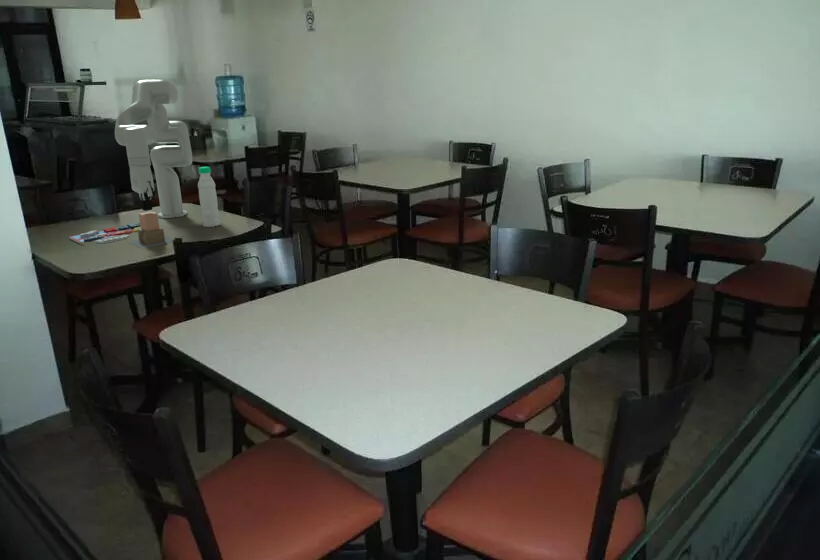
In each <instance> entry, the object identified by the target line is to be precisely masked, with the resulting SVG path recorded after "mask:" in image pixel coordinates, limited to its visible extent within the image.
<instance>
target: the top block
mask: <svg viewBox="0 0 820 560" xmlns="http://www.w3.org/2000/svg"><path fill="white" fill-rule="evenodd" d="M138 218H139V223H140V226H141V229H143V230H145V231H150V230H155V229H160V228H161V227H160V223H159V217H158V213H157V212H154V211H152V210H150V211H145V212H141V213H140V212H139V213H138ZM159 227H160V228H159Z"/></svg>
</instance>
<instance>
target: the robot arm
mask: <svg viewBox="0 0 820 560" xmlns="http://www.w3.org/2000/svg"><path fill="white" fill-rule="evenodd" d="M178 94H179V93H178V89H177V86H176V85H175V84H174V83H173V82H171V81H169V80H166V79H142V80H138V81H136V82H135V83H134V85H133V87H132V93H131V102H130V105H129V106H128V107H126V108H124V109H123V110H122V111H121V112H120V113H119V114H118V116H117V117H116V120H115V127H114V138H115V140H116V142H117V143H118V145H120V146H122V147H123V146H124V147H125V148H126V156H127V160H128V167H129V177H130V178H129V179H130V185H131V190H132V191H134V192H135V193H137V194H138V195H139V199H140V203H141V204H140V205H141V208H142V209H141V211H145V212H149V211H152V210H153V204H152V197H153V192H154V191H155V184H154V183H155V182H154V178H153V174H152V169H151V165H152V167H153V170H154V175H155V181H156V187H157V193H158V200H159V209H160V212H159V213H157V215H158V218H161V219H174V218H175V217H176V218H181V217H184V215H185V216H187V215H188V211H187V210H184V207H183V200H182V194H181V187H180V186H181V185H180V179H179V176H178V174H177V172H176V171H175V170H174V169H173V168H179V167H182V168H183V167H189V166H191V165H192V163H193V152H192V151H193V150H192V146H191V140H190V135H189V130H188V129H189V128H188V126H187V124H186V122H184V121H182V120H169V117H168V111H167V108H166V107H165V106H164V105H172V104H175V103H177V101H178V98H179V95H178ZM144 121H147V124H138V123H142V122H144ZM154 143H155V144H167V145H157V146H154V147H153V148H151V150H150V148H149V146H151V145H153V144H154ZM169 144H171V145H169ZM172 144H173V145H172ZM174 144H175V145H174ZM176 218H175V219H176Z"/></svg>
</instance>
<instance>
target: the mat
mask: <svg viewBox="0 0 820 560" xmlns="http://www.w3.org/2000/svg"><path fill="white" fill-rule="evenodd" d="M164 237H165V241H163V242H158V243H154V244H149V245H146V244H144V243H142V242H139V238H138V239H135V240H129V241H127V243H128V244H131V245H133V246H134V247H137V248H140V249H147V248H152V247H156V246H161V245H165V244H169V243H173V242H172V240H173V239H174V238H172V237H169V236H166V235H164Z"/></svg>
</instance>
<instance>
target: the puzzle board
mask: <svg viewBox="0 0 820 560" xmlns="http://www.w3.org/2000/svg"><path fill="white" fill-rule="evenodd" d="M140 228H141V226H140V222H136V223H130V224H128V223H127V224H126V225H121V226H120V225H119V226H118V227H115V226H114V227H107V228H103V230H100V231H99V230H97V229H96V230H90V231H88V232H85V233H84V232H83V233H79V234H76V235H70V236H69V240H71V241H73V242H74V243H76V242H77V244H78V243H79V244H78V245H80V244H81V245H80V246H82V245H83V247H84V246H85V245H84V244H83V243H86V242H92V241H94V242H95V244H108V243H112V242H113V243H115V242H117V241H124V240H127V239H128V238H129V237H130V234H131V233H132V234H133V233H138V230H137V229H140Z"/></svg>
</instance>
